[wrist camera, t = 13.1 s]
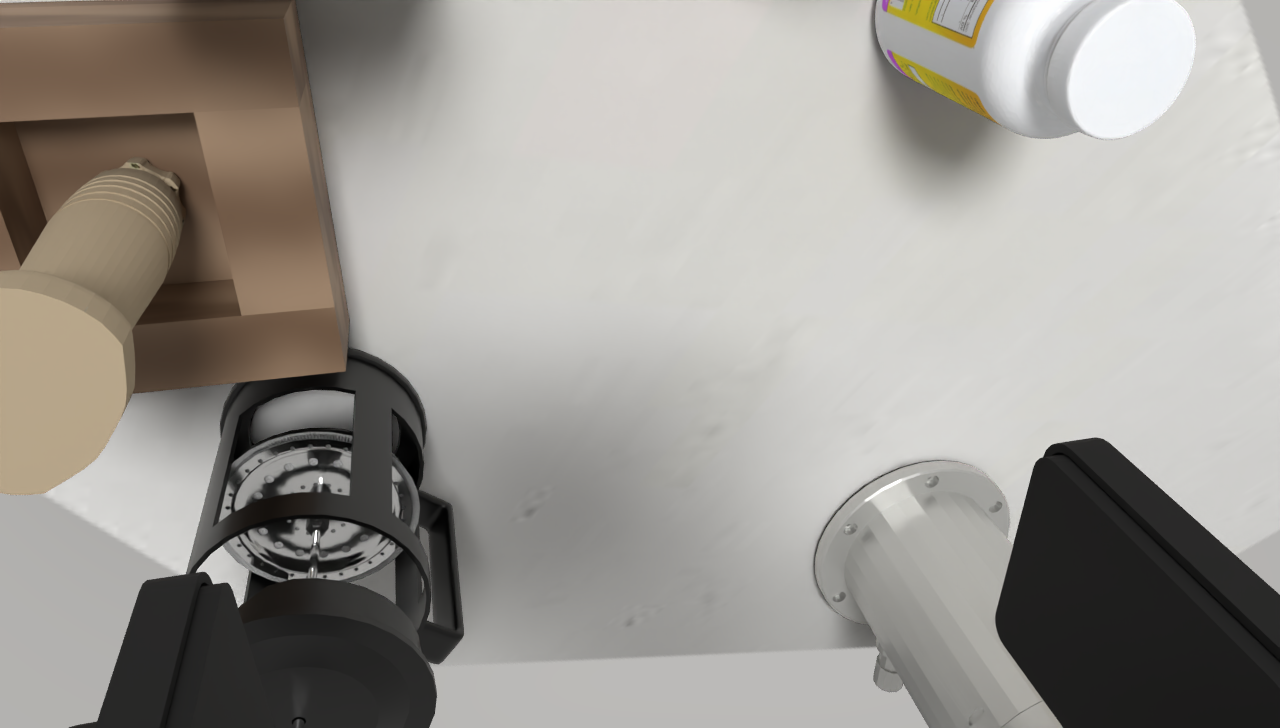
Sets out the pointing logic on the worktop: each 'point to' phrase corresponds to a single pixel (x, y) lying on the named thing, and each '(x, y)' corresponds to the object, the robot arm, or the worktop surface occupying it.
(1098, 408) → the worktop surface
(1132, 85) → the supplement bottle
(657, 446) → the worktop surface
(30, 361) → the handle
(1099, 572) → the robot arm
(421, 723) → the french press
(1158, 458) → the worktop surface
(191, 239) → the socket block
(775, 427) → the worktop surface
